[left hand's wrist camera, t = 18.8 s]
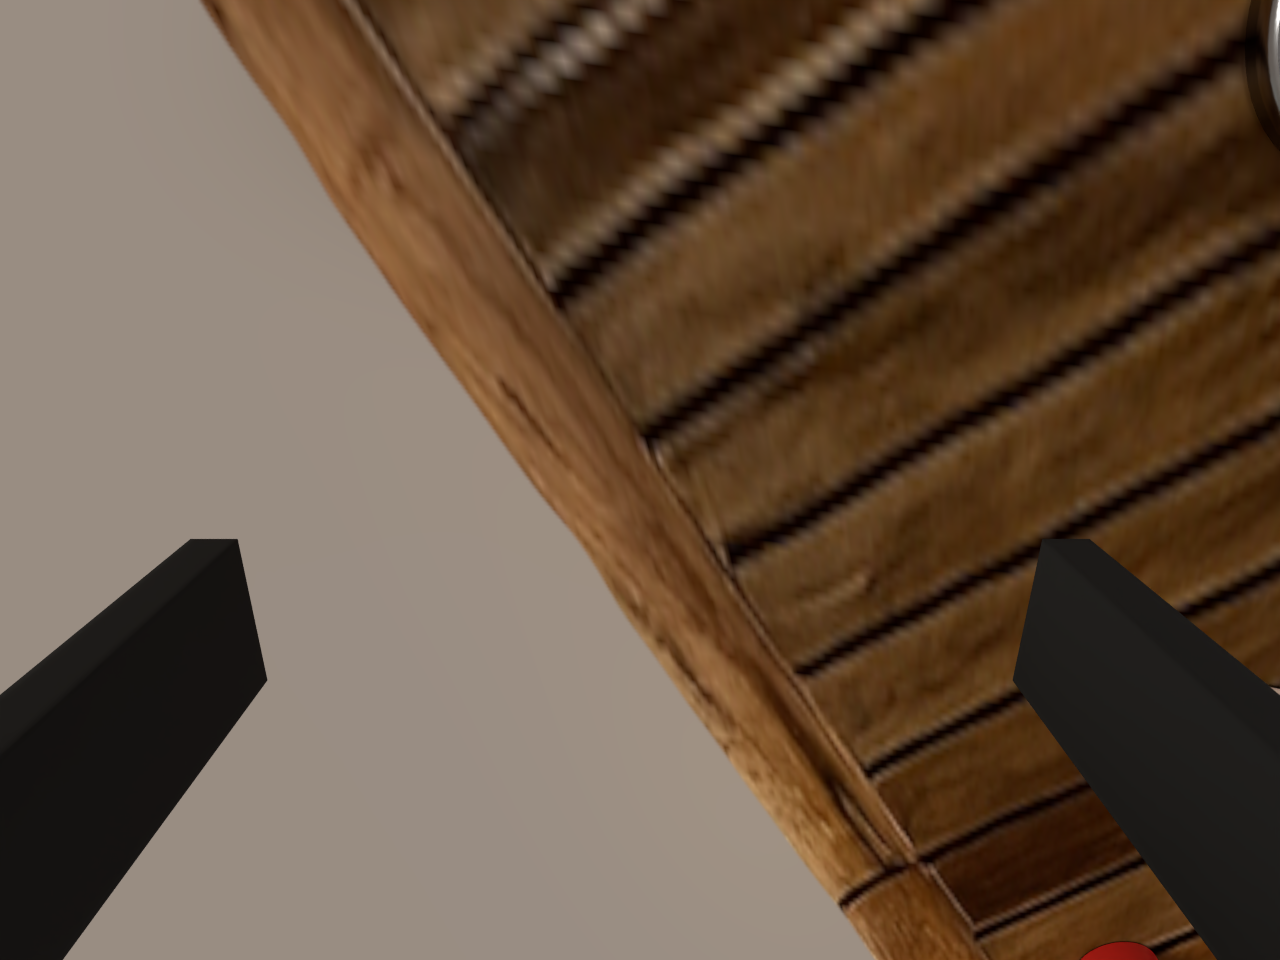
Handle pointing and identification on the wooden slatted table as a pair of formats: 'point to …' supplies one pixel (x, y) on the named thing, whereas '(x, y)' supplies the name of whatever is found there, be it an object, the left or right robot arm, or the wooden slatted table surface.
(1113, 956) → the red cylinder
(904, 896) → the wooden slatted table surface
